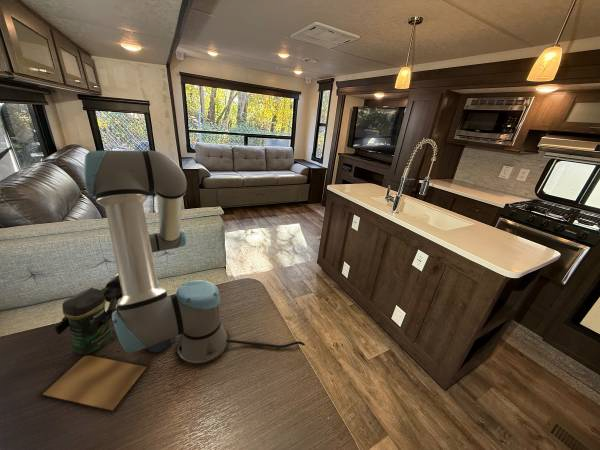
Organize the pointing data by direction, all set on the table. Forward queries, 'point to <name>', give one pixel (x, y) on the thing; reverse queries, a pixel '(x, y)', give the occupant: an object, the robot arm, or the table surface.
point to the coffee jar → (86, 320)
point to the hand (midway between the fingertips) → (73, 331)
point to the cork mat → (96, 382)
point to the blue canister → (161, 345)
